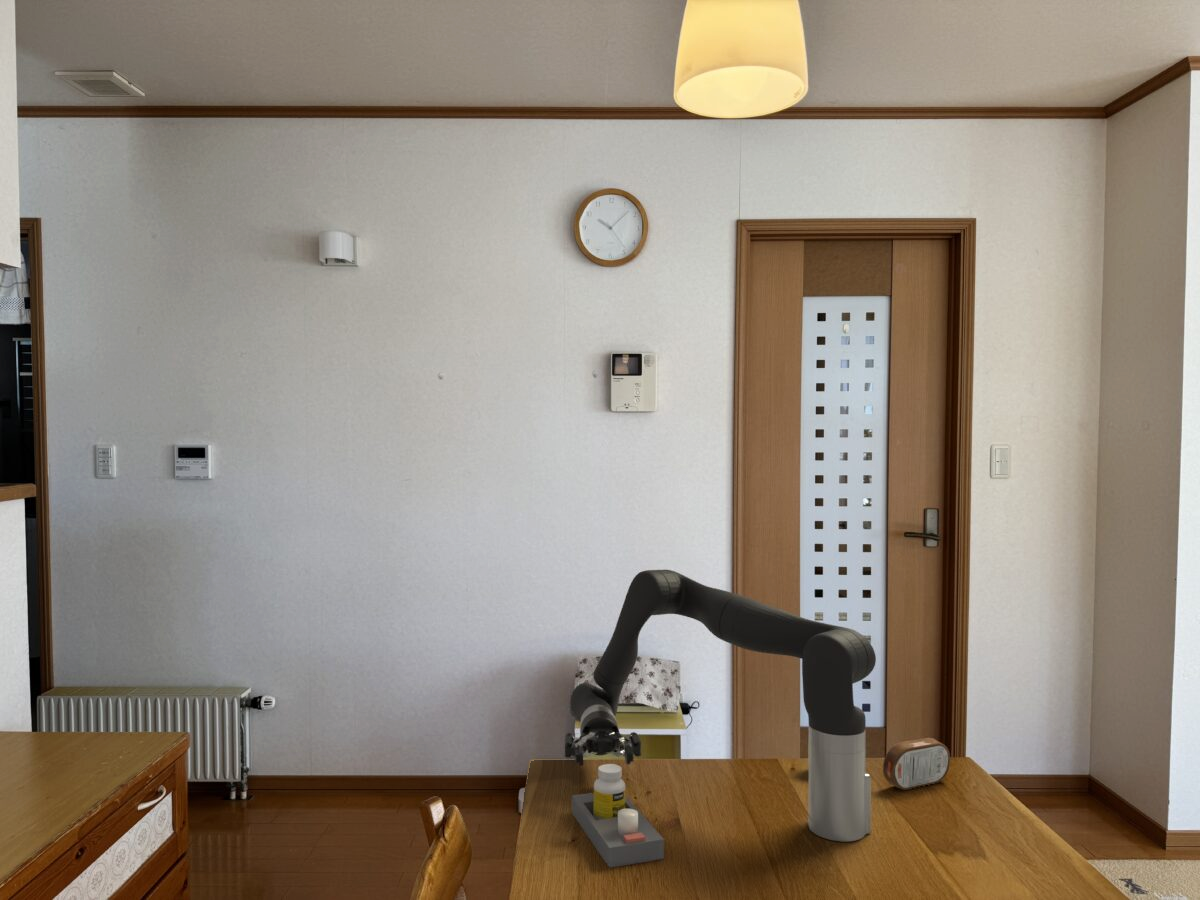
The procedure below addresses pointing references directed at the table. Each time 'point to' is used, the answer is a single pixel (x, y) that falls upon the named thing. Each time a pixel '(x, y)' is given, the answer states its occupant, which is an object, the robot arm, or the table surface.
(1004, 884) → the table surface
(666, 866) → the table surface
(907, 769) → the tin
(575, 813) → the grey square-hole tray
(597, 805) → the supplement bottle
